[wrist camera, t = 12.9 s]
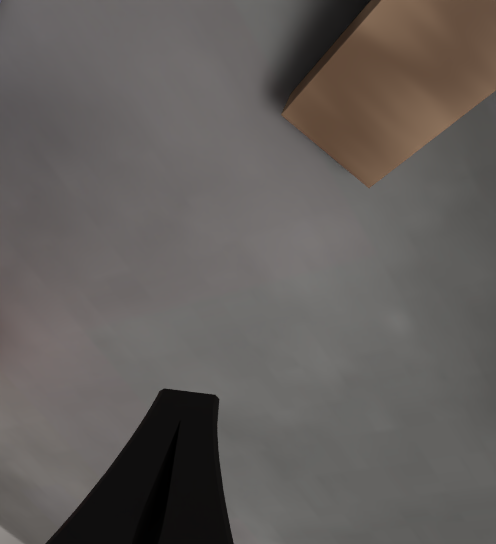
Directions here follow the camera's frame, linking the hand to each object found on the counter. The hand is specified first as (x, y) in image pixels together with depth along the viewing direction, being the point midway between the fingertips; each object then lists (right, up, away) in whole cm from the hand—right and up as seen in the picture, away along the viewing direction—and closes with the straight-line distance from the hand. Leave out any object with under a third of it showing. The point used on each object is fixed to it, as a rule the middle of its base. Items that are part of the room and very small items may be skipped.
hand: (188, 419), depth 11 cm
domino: (+4, +8, +5) cm, 10 cm away
